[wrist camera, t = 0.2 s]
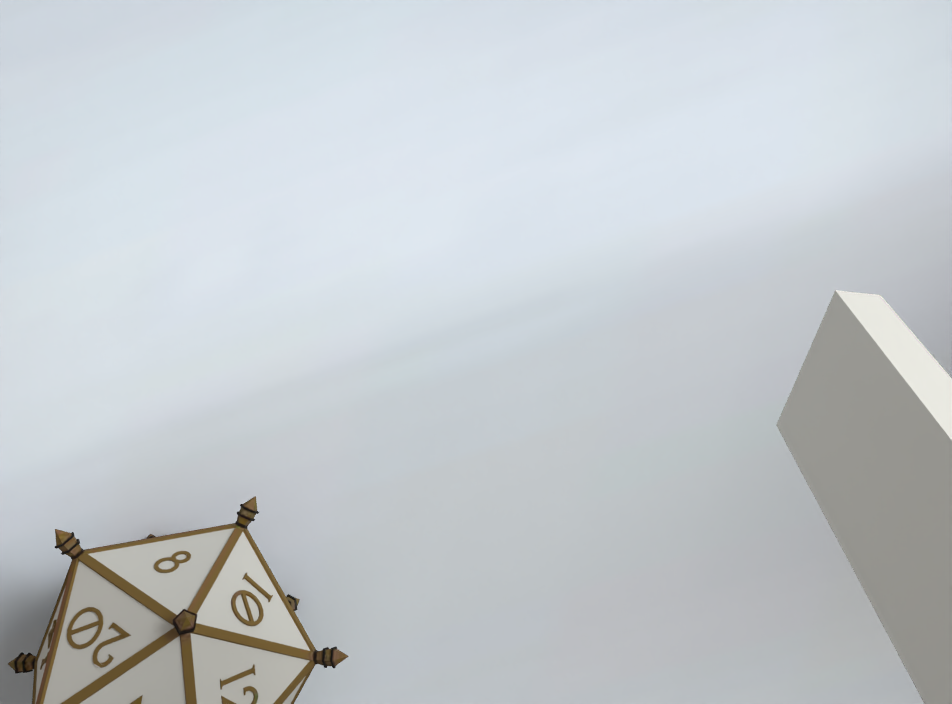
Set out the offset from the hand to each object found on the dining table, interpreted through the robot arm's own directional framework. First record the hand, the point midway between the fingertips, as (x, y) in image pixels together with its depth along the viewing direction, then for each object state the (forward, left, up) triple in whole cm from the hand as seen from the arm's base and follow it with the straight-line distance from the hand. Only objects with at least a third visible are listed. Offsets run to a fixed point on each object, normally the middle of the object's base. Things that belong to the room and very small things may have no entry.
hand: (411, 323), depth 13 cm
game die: (-10, +6, -15) cm, 19 cm away
